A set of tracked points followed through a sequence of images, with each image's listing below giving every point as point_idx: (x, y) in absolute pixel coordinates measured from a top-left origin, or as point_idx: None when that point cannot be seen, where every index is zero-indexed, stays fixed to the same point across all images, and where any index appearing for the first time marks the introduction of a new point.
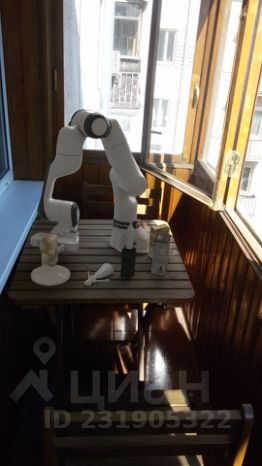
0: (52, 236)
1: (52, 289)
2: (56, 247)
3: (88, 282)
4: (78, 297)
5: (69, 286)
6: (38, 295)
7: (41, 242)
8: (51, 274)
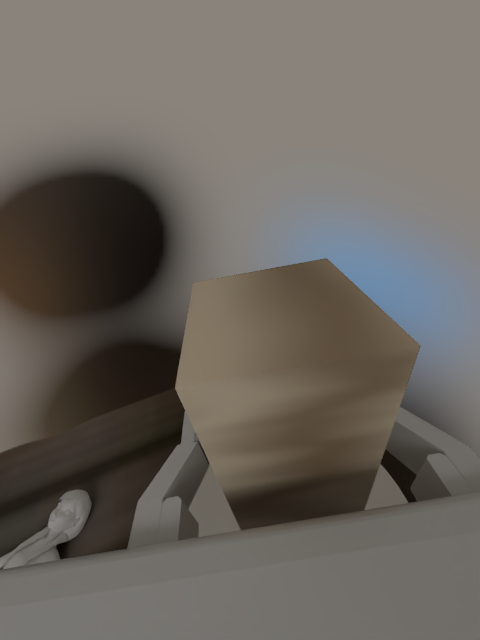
0: (240, 319)
1: None
2: None
3: (63, 496)
4: (125, 407)
5: (164, 461)
6: None
7: (456, 452)
8: None
